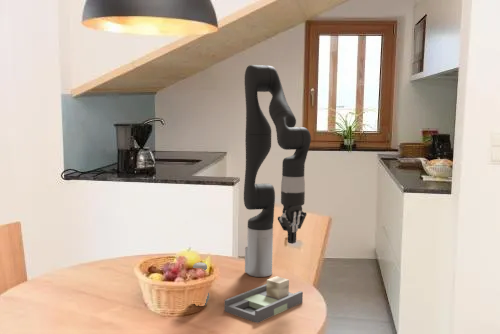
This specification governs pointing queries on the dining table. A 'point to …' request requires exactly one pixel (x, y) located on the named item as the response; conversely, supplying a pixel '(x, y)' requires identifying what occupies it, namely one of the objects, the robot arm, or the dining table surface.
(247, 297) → the trap lane
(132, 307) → the dining table surface
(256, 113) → the robot arm
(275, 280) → the maple block
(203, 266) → the salt shaker
